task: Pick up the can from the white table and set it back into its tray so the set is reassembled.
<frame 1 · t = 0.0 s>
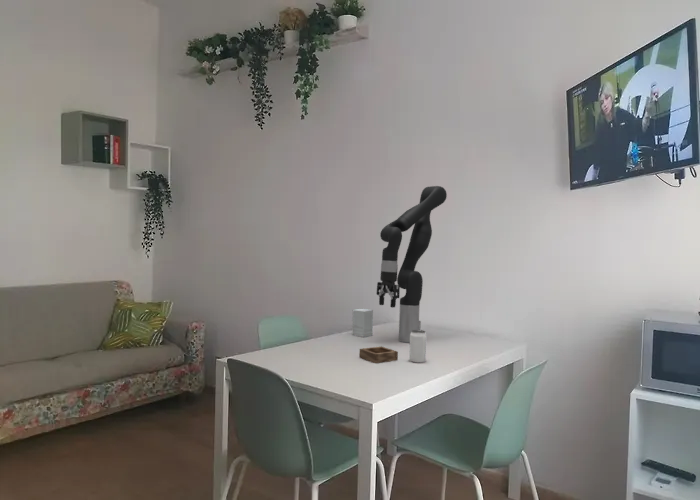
hand: (387, 306, 254), 17 cm above the table, tool pointing down, fingers open, 8 cm apart
supplement box: (362, 335, 274), on the table
tray: (378, 358, 225), on the table
can: (417, 361, 223), on the table
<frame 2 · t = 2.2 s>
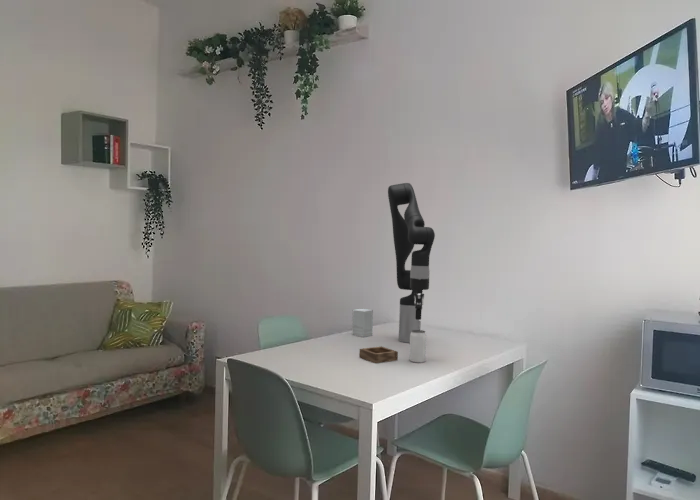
hand: (418, 317, 222), 17 cm above the table, tool pointing down, fingers open, 8 cm apart
nothing on the table moved.
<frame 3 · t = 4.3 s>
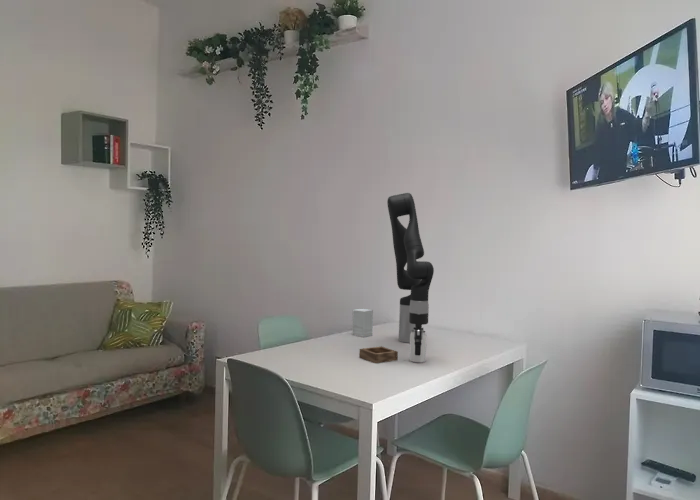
hand: (417, 353, 223), 3 cm above the table, tool pointing down, fingers closed on can, 6 cm apart
can: (417, 361, 223), on the table, touching gripper
everything else where it was.
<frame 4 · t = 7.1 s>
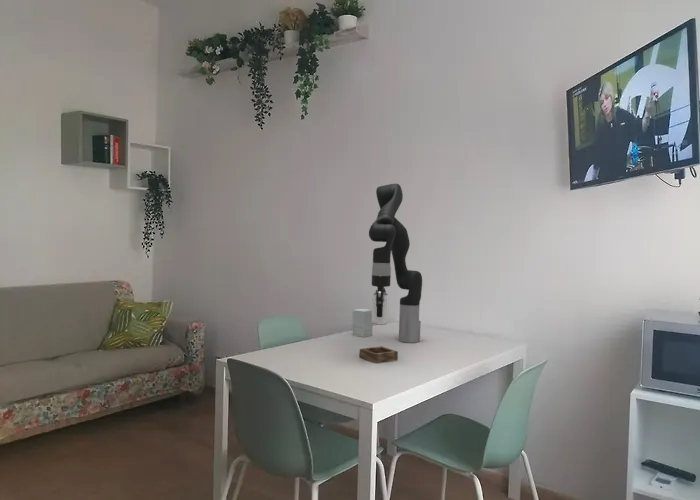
hand: (380, 315, 224), 18 cm above the table, tool pointing down, fingers closed on can, 6 cm apart
can: (379, 324, 224), point 14 cm above the table, touching gripper
everything else where it was.
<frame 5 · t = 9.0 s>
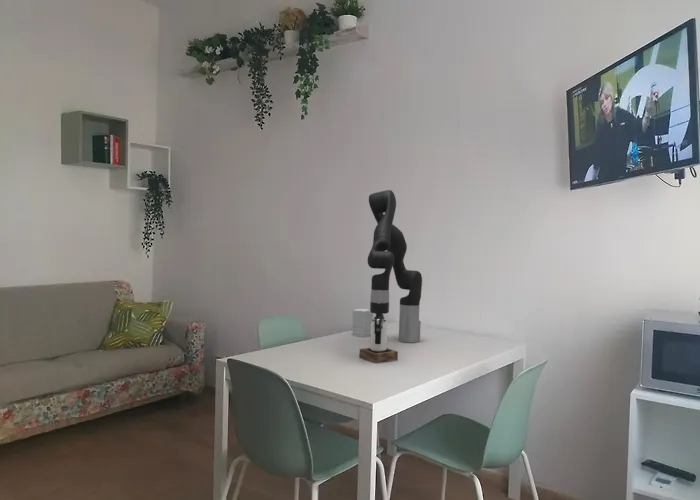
hand: (378, 342, 225), 7 cm above the table, tool pointing down, fingers closed on can, 6 cm apart
can: (378, 350, 225), point 3 cm above the table, touching gripper
everything else where it was.
when the fingers open (6 cm above the table, at t = 10.3 s): can drops 1 cm, resting on tray.
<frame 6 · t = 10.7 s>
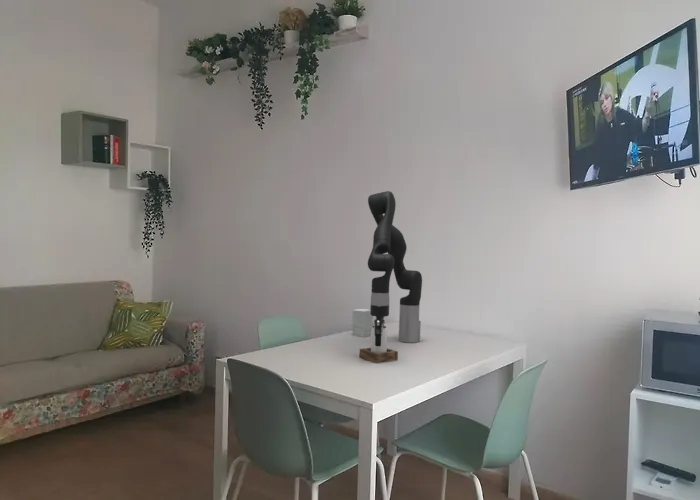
hand: (378, 343, 224), 6 cm above the table, tool pointing down, fingers open, 8 cm apart
can: (378, 356, 225), point 1 cm above the table, touching tray
everything else where it was.
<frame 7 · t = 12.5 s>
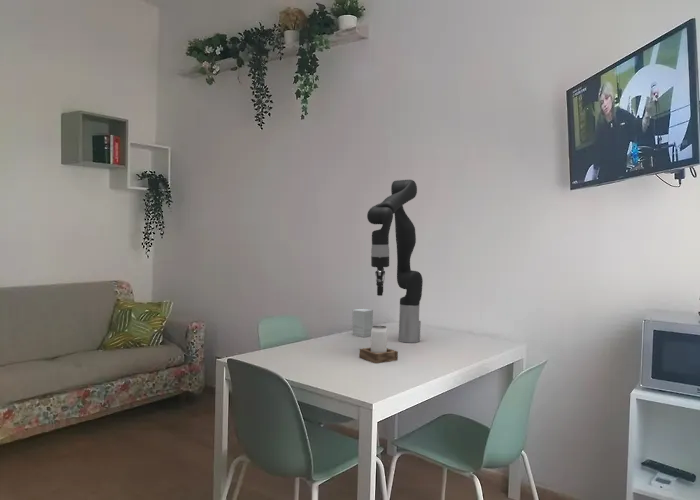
hand: (380, 294, 234), 25 cm above the table, tool pointing down, fingers open, 8 cm apart
nothing on the table moved.
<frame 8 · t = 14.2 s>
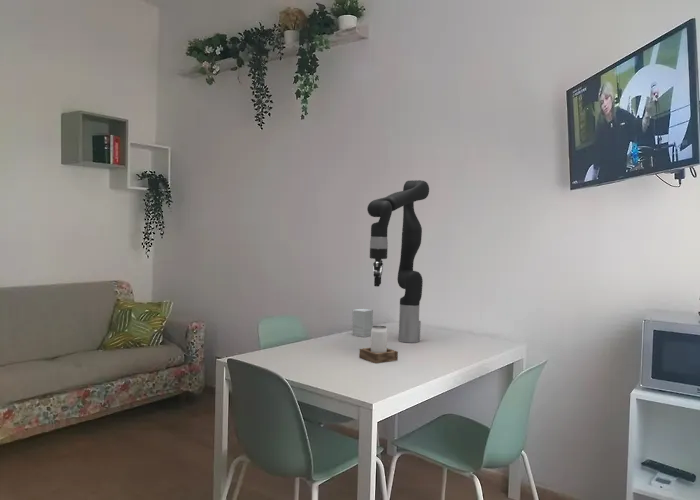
hand: (377, 285, 239), 28 cm above the table, tool pointing down, fingers open, 8 cm apart
nothing on the table moved.
at the end: can 0.3 cm off-centre on the tray, point 0.8 cm above the tray's base; can tilted 0°; the gripper is holding nothing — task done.
